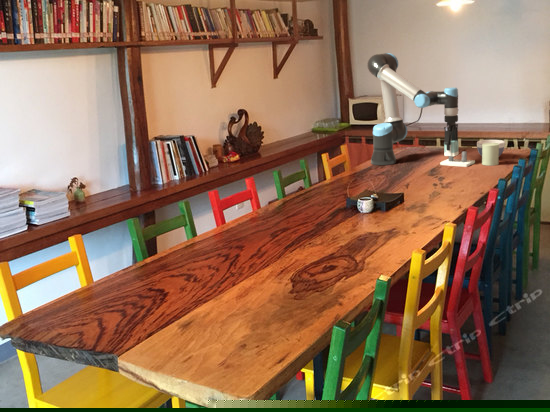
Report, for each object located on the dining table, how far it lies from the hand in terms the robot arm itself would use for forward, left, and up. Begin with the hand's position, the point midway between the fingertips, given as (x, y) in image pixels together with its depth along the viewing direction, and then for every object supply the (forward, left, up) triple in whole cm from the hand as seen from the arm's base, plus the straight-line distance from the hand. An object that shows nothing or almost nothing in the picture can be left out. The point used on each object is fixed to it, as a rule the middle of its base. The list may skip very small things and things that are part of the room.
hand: (451, 154), depth 371 cm
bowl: (+14, +24, -5) cm, 28 cm away
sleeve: (0, 0, 0) cm, 0 cm away
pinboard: (+4, 0, -5) cm, 7 cm away
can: (+21, +6, -5) cm, 22 cm away
